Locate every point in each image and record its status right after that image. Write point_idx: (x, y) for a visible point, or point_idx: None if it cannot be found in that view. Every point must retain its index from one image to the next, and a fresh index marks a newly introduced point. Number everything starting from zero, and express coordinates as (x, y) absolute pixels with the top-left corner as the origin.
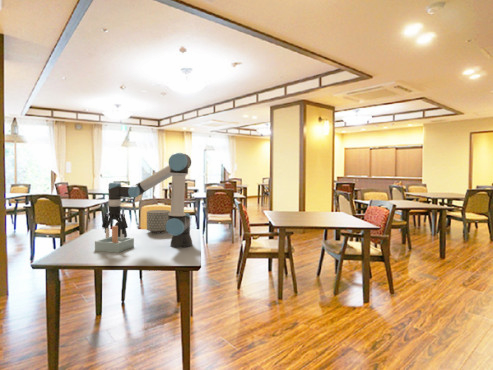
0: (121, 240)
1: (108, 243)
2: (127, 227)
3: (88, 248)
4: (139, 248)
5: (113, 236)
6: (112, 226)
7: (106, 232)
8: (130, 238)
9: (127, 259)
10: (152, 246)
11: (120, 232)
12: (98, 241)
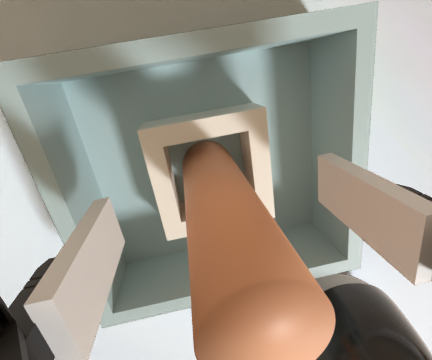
0: None
1: (160, 37)
2: None
3: (414, 55)
4: (32, 256)
5: (214, 180)
6: (319, 305)
7: (366, 181)
8: (128, 308)
9: None
10: None
11: (331, 358)
12: (330, 21)
